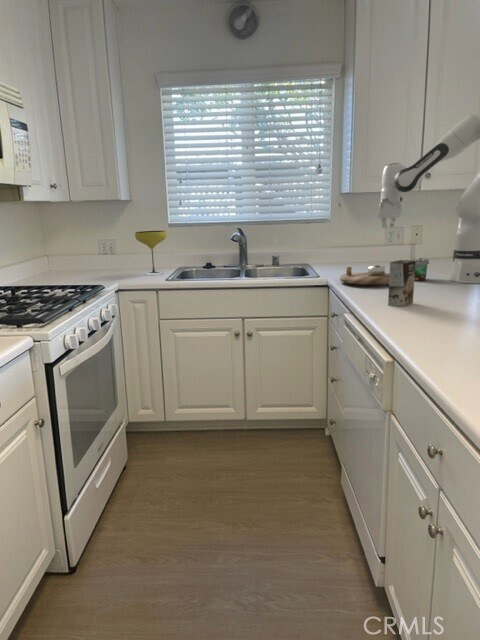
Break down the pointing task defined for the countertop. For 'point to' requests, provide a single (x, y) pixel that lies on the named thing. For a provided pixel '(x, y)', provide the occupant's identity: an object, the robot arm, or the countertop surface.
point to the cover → (376, 270)
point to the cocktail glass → (151, 240)
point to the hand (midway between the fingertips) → (388, 227)
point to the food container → (421, 269)
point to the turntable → (364, 278)
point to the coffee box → (401, 283)
